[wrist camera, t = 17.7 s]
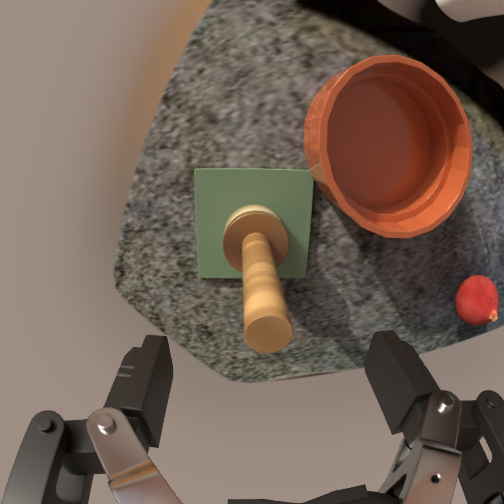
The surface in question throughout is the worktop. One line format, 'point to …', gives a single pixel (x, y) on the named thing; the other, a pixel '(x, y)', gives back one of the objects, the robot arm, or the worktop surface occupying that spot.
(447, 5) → the drinking glass
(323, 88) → the bowl
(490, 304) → the onion
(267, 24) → the worktop surface
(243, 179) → the mat
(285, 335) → the dish brush
